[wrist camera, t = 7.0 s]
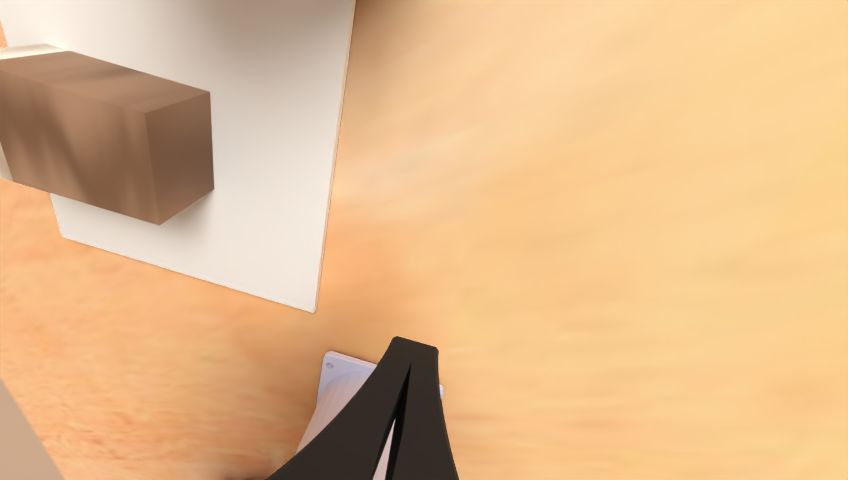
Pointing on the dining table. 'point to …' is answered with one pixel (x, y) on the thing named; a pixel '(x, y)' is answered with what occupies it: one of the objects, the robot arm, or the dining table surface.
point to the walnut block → (103, 133)
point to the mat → (223, 129)
